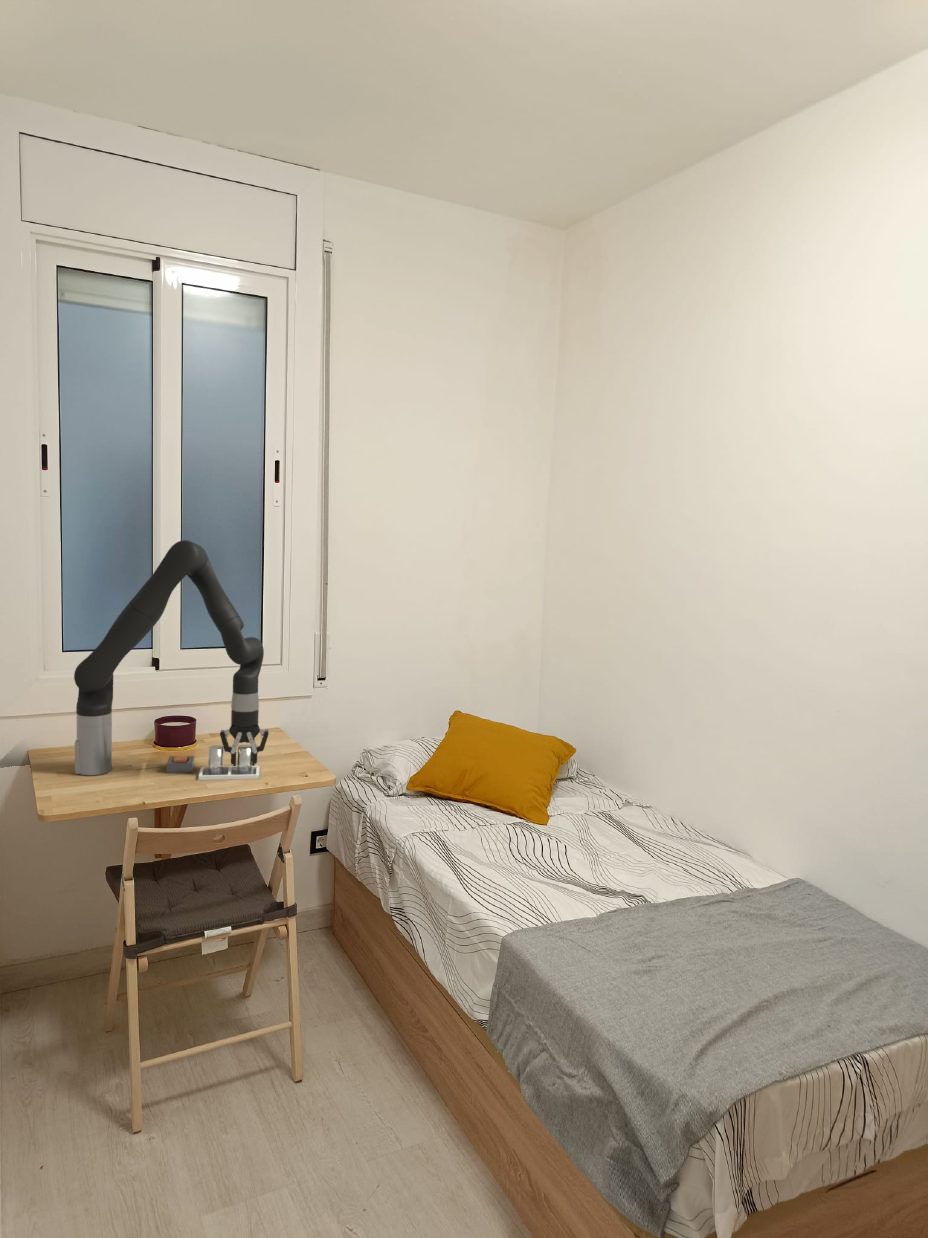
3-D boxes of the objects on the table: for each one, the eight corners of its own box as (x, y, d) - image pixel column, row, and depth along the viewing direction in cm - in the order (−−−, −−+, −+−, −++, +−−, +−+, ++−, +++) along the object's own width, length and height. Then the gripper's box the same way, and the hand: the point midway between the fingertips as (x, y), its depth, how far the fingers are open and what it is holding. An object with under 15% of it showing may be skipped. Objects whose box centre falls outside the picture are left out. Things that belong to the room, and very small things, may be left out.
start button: (173, 768, 240) (173, 760, 240) (174, 764, 244) (174, 756, 243) (186, 768, 241) (186, 759, 241) (187, 764, 244) (187, 756, 244)
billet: (237, 771, 243) (238, 744, 242) (251, 771, 244) (252, 745, 243) (236, 776, 239) (238, 748, 238) (251, 776, 240) (252, 749, 239)
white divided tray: (196, 784, 234) (196, 777, 234) (199, 773, 243) (199, 766, 243) (260, 783, 238) (260, 775, 237) (260, 772, 247) (261, 765, 247)
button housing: (166, 777, 238) (166, 763, 238) (169, 769, 245) (169, 756, 245) (192, 776, 240) (192, 763, 239) (194, 769, 247) (194, 756, 246)
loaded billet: (207, 777, 237) (208, 749, 236) (208, 772, 241) (209, 745, 240) (222, 776, 238) (222, 749, 237) (223, 772, 242) (223, 745, 241)
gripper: (270, 704, 244) (269, 761, 246) (219, 704, 240) (218, 761, 243) (270, 710, 237) (269, 769, 239) (218, 710, 233) (217, 769, 236)
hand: (243, 765), depth 241 cm, fingers open, 4 cm apart
